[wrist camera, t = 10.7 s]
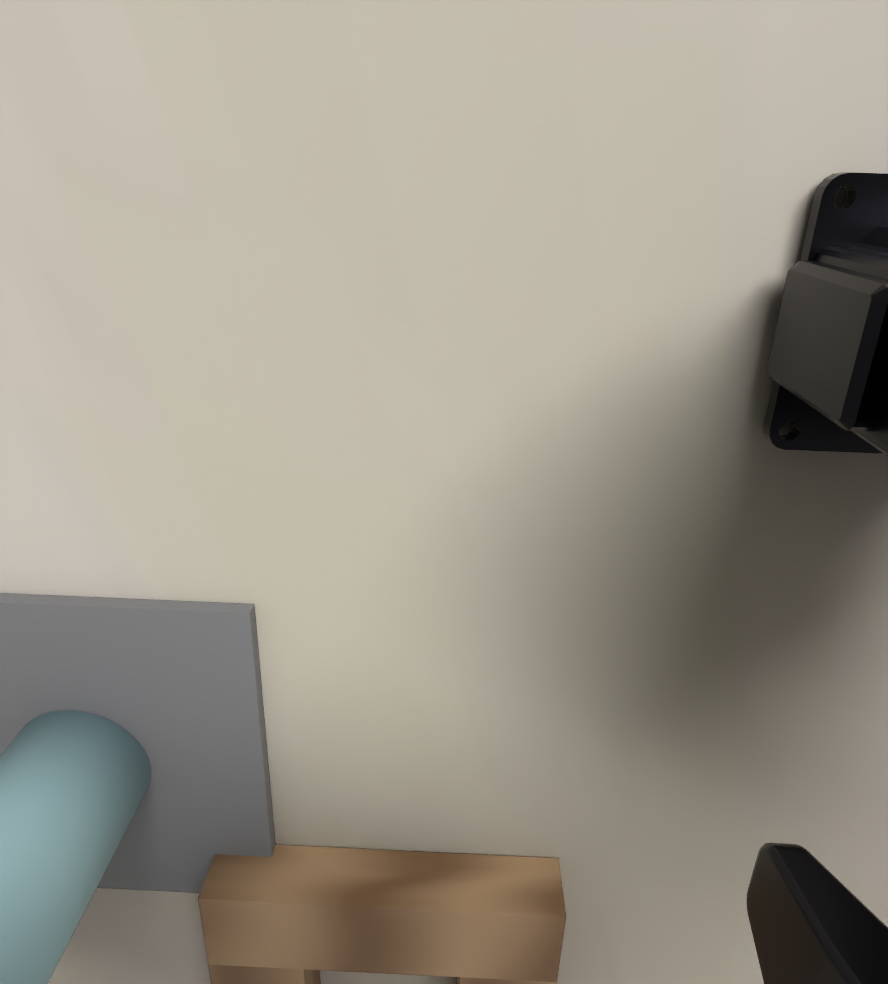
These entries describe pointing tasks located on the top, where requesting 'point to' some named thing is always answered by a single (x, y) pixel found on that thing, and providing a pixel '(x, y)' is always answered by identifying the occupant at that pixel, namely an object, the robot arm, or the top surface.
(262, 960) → the pocket block
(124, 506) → the top surface
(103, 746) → the peg
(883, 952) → the robot arm
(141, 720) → the mat
